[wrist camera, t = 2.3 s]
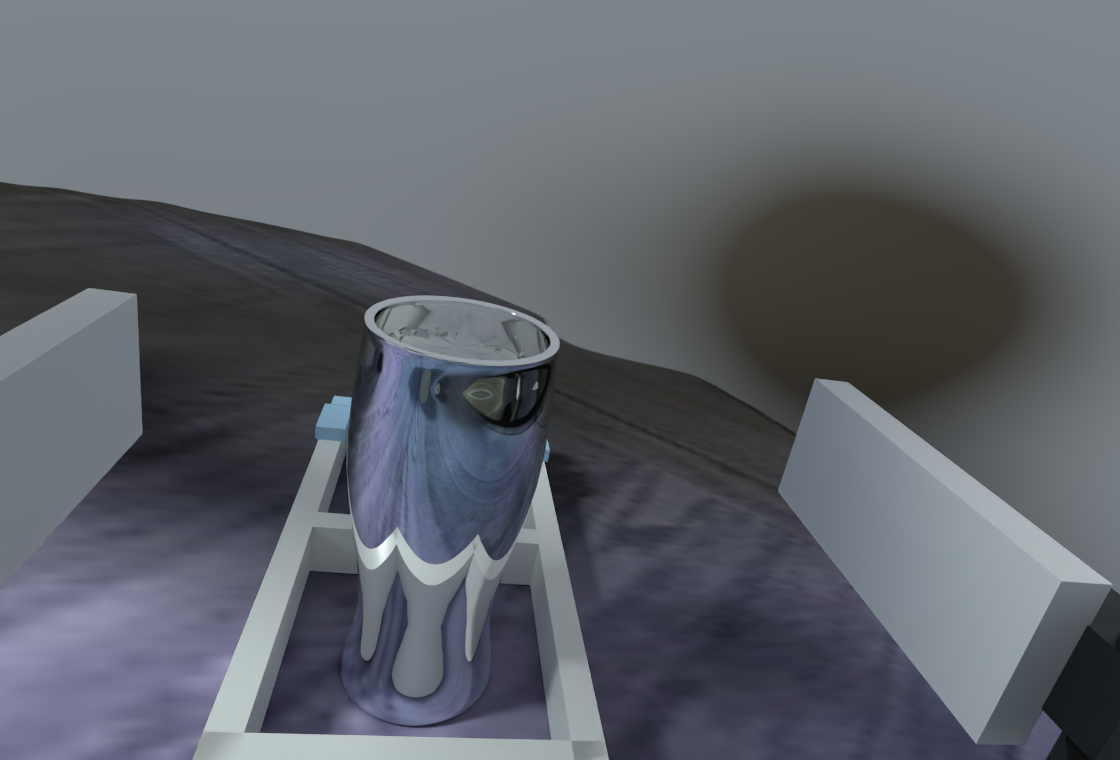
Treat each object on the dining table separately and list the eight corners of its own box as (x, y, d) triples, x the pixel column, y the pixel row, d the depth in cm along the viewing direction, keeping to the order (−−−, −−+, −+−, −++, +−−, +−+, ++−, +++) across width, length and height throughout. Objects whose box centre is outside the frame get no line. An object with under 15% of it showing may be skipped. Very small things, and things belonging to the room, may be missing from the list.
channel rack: (596, 824, 24) (611, 772, 23) (190, 823, 22) (189, 766, 21) (529, 455, 48) (536, 422, 47) (331, 435, 46) (334, 400, 45)
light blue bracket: (540, 497, 43) (549, 450, 42) (312, 477, 41) (315, 426, 39) (532, 455, 48) (540, 411, 47) (328, 434, 45) (331, 388, 44)
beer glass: (497, 614, 33) (554, 309, 28) (503, 741, 27) (579, 378, 21) (344, 603, 32) (372, 282, 26) (311, 734, 25) (339, 347, 20)
